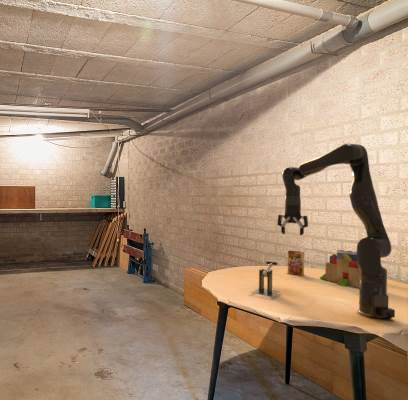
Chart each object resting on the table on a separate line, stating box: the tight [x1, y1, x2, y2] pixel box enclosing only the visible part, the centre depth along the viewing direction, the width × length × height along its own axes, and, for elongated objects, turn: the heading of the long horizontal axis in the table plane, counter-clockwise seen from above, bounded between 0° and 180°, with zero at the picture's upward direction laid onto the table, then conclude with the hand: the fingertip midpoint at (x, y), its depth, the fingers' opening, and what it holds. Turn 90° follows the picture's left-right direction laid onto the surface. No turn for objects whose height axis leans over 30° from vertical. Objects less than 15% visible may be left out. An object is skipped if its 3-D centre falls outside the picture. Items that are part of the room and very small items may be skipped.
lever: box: [262, 260, 278, 278], centre depth 178 cm, size 12×5×2 cm, turn 138°
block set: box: [319, 252, 360, 289], centre depth 200 cm, size 28×14×19 cm, turn 21°
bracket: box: [250, 268, 281, 298], centre depth 174 cm, size 13×10×13 cm
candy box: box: [287, 249, 305, 276], centre depth 224 cm, size 9×4×15 cm, turn 43°
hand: (292, 234), depth 184 cm, fingers open, 8 cm apart
